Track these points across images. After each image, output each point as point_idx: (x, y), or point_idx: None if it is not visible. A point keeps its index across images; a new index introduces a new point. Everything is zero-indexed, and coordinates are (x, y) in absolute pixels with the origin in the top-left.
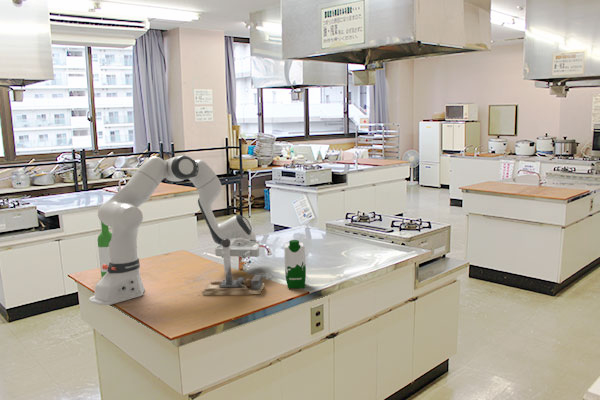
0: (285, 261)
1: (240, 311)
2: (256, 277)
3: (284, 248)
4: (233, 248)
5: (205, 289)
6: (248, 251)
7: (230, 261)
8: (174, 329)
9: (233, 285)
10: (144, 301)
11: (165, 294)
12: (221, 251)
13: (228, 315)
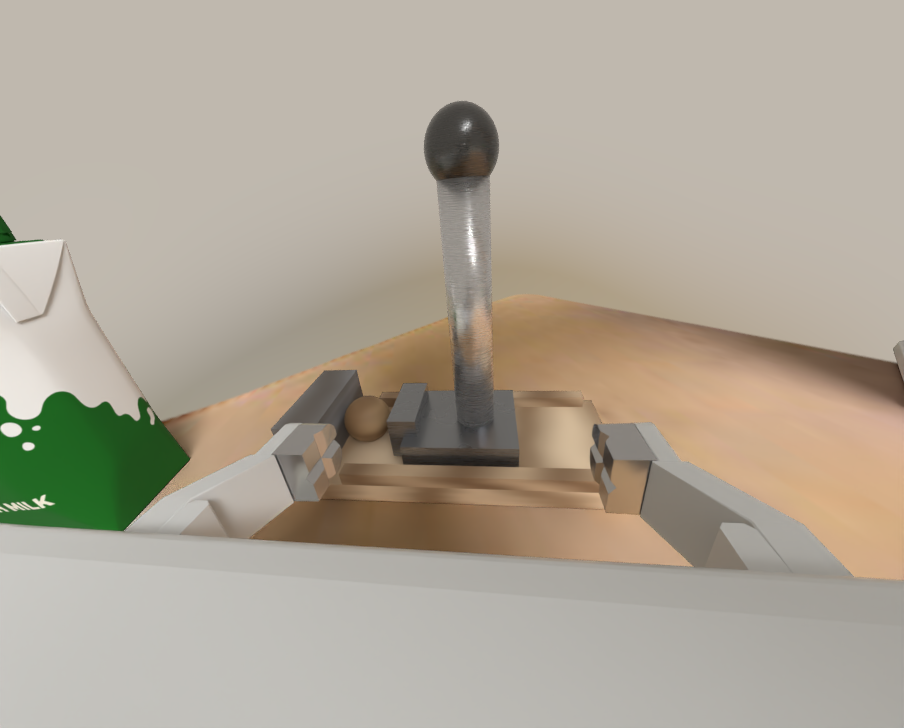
0: (107, 342)
1: (413, 338)
2: (318, 398)
3: (7, 277)
4: (503, 595)
5: (575, 392)
6: (175, 509)
7: (447, 300)
8: (533, 299)
9: (443, 392)
10: (794, 371)
11: (801, 422)
12: (791, 519)
13: (440, 328)
